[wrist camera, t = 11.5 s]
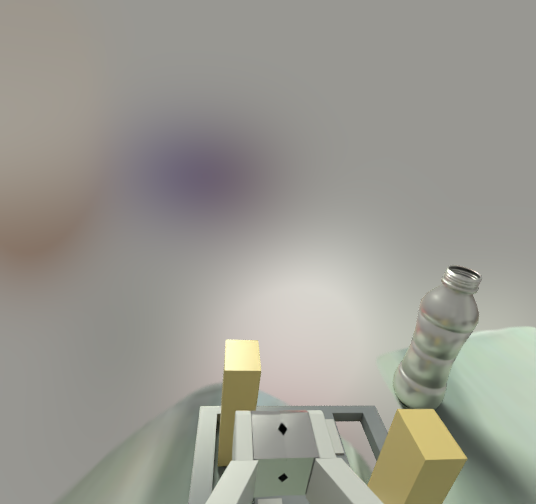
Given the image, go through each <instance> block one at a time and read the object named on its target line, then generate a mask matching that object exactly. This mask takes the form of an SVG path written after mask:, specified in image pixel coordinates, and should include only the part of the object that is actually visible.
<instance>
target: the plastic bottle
mask: <svg viewBox="0 0 536 504" xmlns="http://www.w3.org/2000/svg"><path fill="white" fill-rule="evenodd" d="M481 280H482V276H481V275H480V274H479V273H477V272H476V271H474V270H471V269H468V268H466V267H462V266H457V265H450V266H448V268H447V269H446V272H445V274H444V276H443V277H442V280H441V281H442V283H443V284H442V285H440V286H438V287H436V288H434V289H432V290H431V291H430V292H428V293H427V294H426V295H425V296H424V297H423V298H422V300H421V303H420V307H419V312H418V318H417V323H416V328H415V331H414V334H413V338H412V341H411V344H410V346H409V348H408V350H407V352H406V354H405V356H404V358H403V360H402V361H401V363H400V364H399V365H398V367H397V369H396V371H395V373H394V378H393V387H394V390H395V393H396V395H397V397H398V398H399V399H400V401H401V402H402V403H404V404H405V405H406V406H408V407H409V408H411V409H434V410H435V409H436V408H437V407H438V406H439V405H440V404H441V402H442V401H443V399H444V396H445V392H446V387H447V380H448V377H449V374H450V371H451V368H452V365H453V363H454V361H455V359H456V357H457V355H458V353H459V351H460V350H461V348H462V346H463V345H464V343H465V342H466V340H467V339H468V338H469V336H470V335H471V333H472V332H473V330H474V329H475V327H476V325H477V324H478V320H479V312H478V308H477V304H476V302H475V299H474V297H473V294H475V293H477V291H478V289H479V287H478V286H479V284H480V282H481Z"/></svg>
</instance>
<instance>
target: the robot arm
mask: <svg viewBox="0 0 536 504" xmlns="http://www.w3.org/2000/svg"><path fill="white" fill-rule="evenodd" d="M279 495H280V496H287V495H306V498H307V500H308V501H309V503H310V504H384V503H383V502H382V501H381V500H380V499H379V498H378V497H377V496H376V495H375V494H374V493H373V492H372V491H371V490H370V488H369V487H368V486H367V485H366V484H365V483H364V482H363V481H362V480H361V479H360V478H359V477H358V476H357V474H356V473H355V472H354V471H353V470H352V469H351V468H350V467H349V466H348V465H347V464H346V463H345V462H344V460H343V459H342V458H337V457H336V454H335V451H334V447H333V444H332V441H331V437H330V434H329V431H328V427H327V424H326V421H325V417H324V414H323V412H322V411H321V410H307V411H306V410H284V411H235V420H234V431H233V446H232V461H230V463H229V465H228V466H227V468H226V470H225V471H224V473H223V475H222V476H221V478H220V480H219V481H218V483H217V485H216V486H215V488H214V490H213V492H212V493H211V495H210V497H209V498H208V500H207V502H206V503H205V504H251V503H252V501H253V498H255V497H267V496H279Z"/></svg>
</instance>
